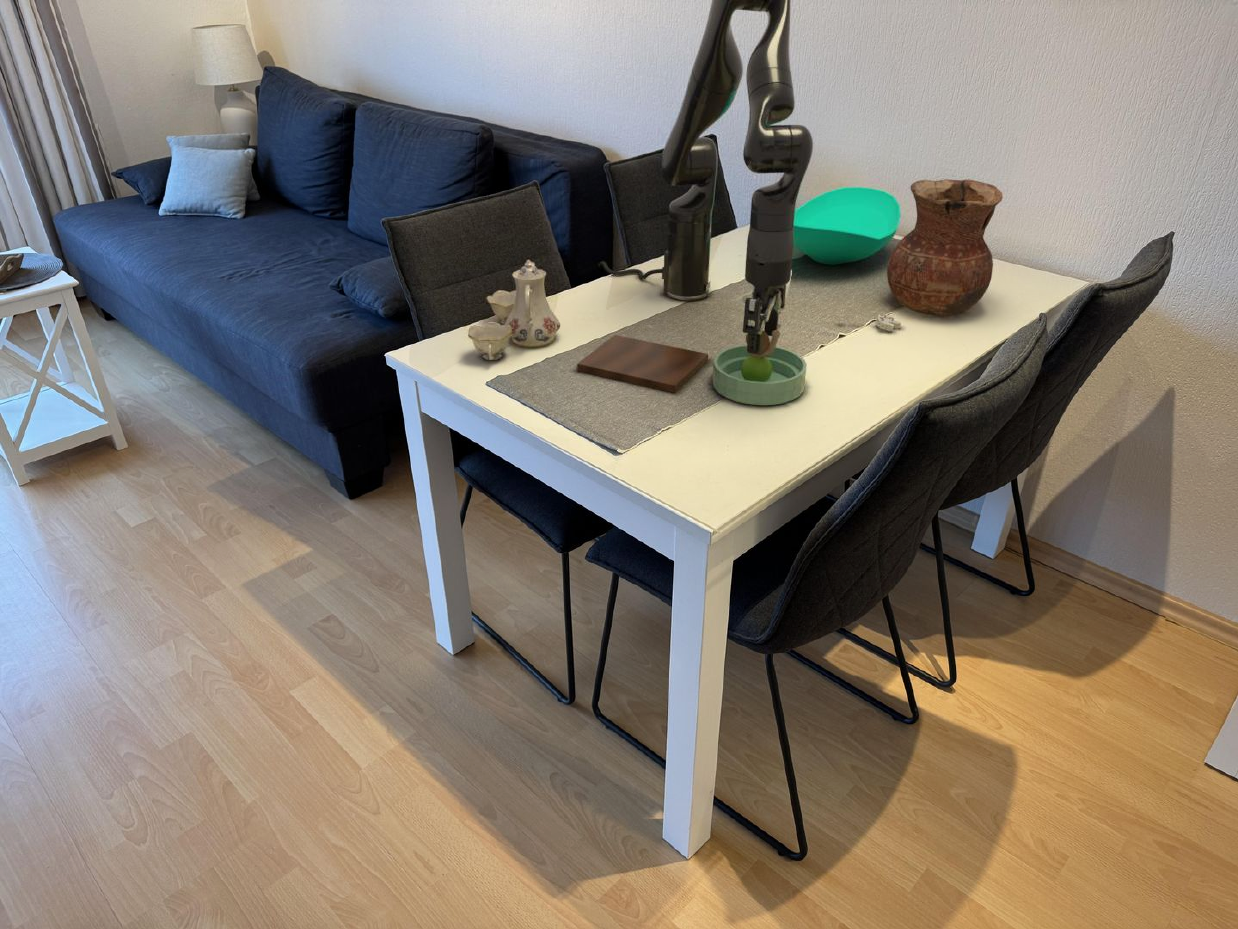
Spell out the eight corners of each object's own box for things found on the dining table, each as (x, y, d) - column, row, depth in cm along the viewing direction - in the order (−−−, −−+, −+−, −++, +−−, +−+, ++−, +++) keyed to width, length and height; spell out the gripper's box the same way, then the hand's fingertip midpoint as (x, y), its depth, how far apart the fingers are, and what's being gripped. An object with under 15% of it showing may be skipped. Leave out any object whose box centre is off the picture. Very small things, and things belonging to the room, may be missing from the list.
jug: (973, 331, 177) (1000, 207, 164) (870, 312, 186) (888, 193, 173) (992, 296, 193) (1018, 180, 180) (897, 280, 202) (915, 169, 189)
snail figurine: (768, 394, 154) (774, 330, 147) (735, 385, 156) (739, 322, 150) (780, 382, 157) (786, 319, 151) (748, 374, 160) (752, 312, 154)
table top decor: (847, 295, 194) (855, 236, 188) (740, 270, 209) (744, 214, 202) (916, 249, 221) (925, 196, 214) (817, 230, 236) (822, 180, 229)
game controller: (904, 331, 177) (906, 319, 176) (850, 336, 175) (852, 324, 174) (892, 321, 182) (894, 309, 180) (839, 325, 180) (841, 313, 179)
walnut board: (577, 370, 163) (576, 363, 162) (615, 341, 174) (615, 334, 173) (674, 393, 155) (675, 385, 154) (708, 360, 166) (708, 353, 165)
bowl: (698, 394, 154) (699, 371, 152) (732, 359, 166) (733, 337, 164) (786, 414, 148) (789, 390, 145) (815, 376, 160) (818, 354, 158)
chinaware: (488, 319, 188) (473, 243, 180) (565, 310, 188) (553, 234, 179) (471, 376, 165) (452, 293, 156) (558, 367, 164) (545, 282, 155)
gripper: (762, 238, 151) (756, 326, 160) (732, 262, 141) (726, 355, 149) (804, 244, 148) (795, 333, 157) (776, 269, 137) (768, 363, 146)
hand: (762, 344), depth 153 cm, fingers open, 8 cm apart
